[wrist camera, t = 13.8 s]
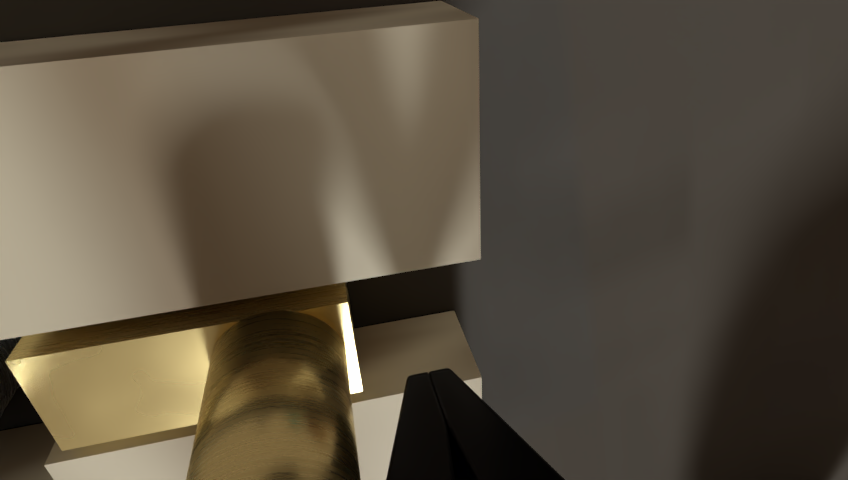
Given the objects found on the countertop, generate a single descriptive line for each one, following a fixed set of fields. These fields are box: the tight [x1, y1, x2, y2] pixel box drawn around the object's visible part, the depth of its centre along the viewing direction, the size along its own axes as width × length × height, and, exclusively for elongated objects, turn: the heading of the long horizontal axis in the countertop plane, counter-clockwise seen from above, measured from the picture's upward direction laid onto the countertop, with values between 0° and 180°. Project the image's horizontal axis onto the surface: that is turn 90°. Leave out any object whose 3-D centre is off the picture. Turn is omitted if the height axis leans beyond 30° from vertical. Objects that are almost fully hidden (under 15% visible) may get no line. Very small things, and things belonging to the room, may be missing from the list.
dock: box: [0, 1, 482, 480], centre depth 11 cm, size 17×12×2 cm
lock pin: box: [5, 282, 363, 480], centre depth 10 cm, size 6×3×6 cm, turn 94°
